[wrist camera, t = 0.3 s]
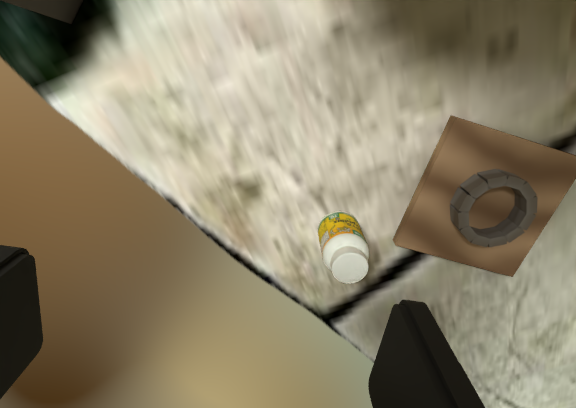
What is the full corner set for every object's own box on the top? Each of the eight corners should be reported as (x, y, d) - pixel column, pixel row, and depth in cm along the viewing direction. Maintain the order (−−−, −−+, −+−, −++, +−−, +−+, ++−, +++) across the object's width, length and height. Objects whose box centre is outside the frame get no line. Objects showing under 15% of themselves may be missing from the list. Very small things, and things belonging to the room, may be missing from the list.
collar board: (450, 115, 43) (466, 122, 39) (578, 156, 45) (604, 166, 41) (392, 239, 49) (401, 255, 46) (506, 270, 51) (523, 288, 48)
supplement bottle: (311, 239, 49) (317, 281, 40) (326, 204, 47) (335, 240, 39) (349, 250, 50) (362, 294, 41) (365, 216, 48) (383, 255, 39)
